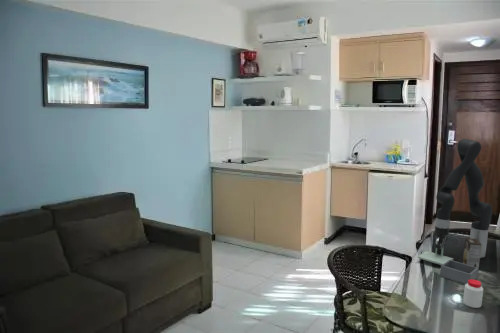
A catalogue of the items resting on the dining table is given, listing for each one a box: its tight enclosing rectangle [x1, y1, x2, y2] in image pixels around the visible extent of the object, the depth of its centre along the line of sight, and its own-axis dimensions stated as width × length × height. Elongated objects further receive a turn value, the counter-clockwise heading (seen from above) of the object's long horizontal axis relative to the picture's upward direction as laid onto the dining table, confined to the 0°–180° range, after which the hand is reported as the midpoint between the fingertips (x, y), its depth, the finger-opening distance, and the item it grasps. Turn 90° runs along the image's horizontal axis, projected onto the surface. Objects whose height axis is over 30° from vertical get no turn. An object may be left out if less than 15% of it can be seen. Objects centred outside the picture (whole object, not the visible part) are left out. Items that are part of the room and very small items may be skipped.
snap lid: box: [417, 246, 454, 266], centre depth 243 cm, size 12×15×7 cm
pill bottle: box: [462, 279, 484, 309], centre depth 198 cm, size 8×8×11 cm
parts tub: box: [439, 259, 479, 285], centre depth 226 cm, size 12×15×6 cm
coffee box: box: [462, 237, 482, 270], centre depth 237 cm, size 9×6×16 cm
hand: (439, 254), depth 248 cm, fingers closed on snap lid, 1 cm apart
